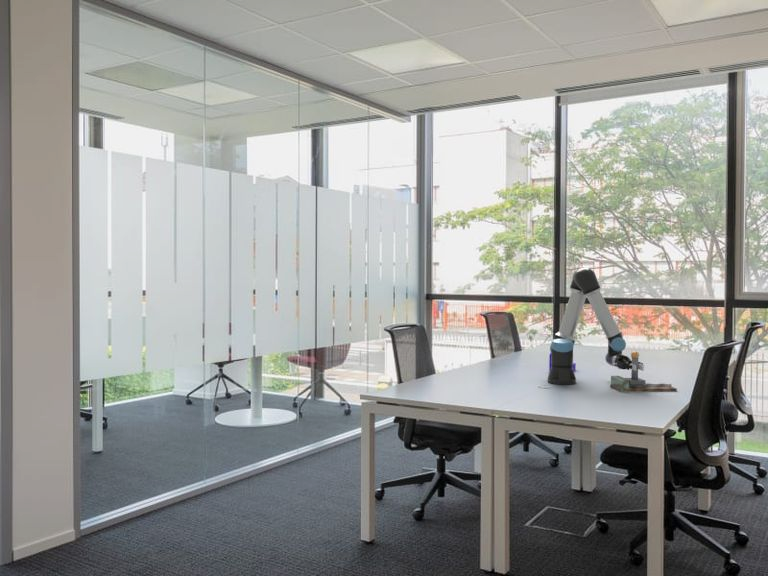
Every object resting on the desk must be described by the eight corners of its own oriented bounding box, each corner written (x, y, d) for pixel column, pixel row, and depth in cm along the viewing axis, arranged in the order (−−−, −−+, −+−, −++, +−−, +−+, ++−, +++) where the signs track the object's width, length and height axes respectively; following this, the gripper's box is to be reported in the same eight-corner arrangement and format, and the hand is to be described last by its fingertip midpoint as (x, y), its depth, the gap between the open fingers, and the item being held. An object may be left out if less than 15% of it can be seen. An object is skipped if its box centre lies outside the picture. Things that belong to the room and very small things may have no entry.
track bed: (619, 391, 347) (619, 380, 347) (609, 387, 361) (609, 375, 361) (677, 391, 348) (677, 380, 348) (665, 387, 362) (665, 375, 362)
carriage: (630, 386, 350) (630, 352, 350) (623, 383, 358) (624, 350, 358) (645, 386, 350) (645, 352, 350) (638, 383, 358) (639, 350, 358)
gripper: (636, 368, 372) (654, 375, 349) (606, 368, 372) (623, 375, 348) (636, 354, 372) (655, 360, 349) (606, 354, 371) (623, 360, 348)
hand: (639, 367), depth 348 cm, fingers closed on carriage, 3 cm apart
